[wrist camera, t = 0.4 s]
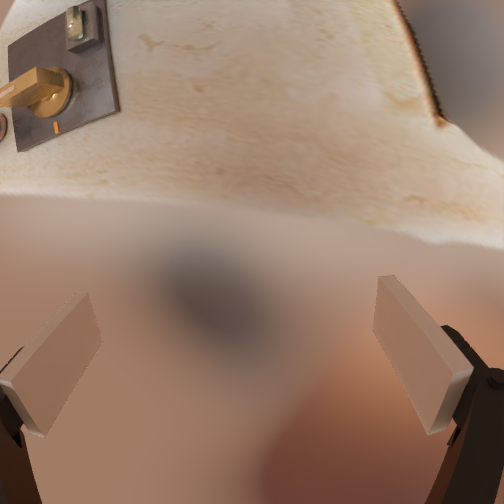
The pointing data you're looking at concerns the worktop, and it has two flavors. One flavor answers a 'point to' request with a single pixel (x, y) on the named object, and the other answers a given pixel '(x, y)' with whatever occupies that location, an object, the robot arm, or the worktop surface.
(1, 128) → the beer can
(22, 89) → the gold disc with bar
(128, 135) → the worktop surface
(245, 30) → the worktop surface
